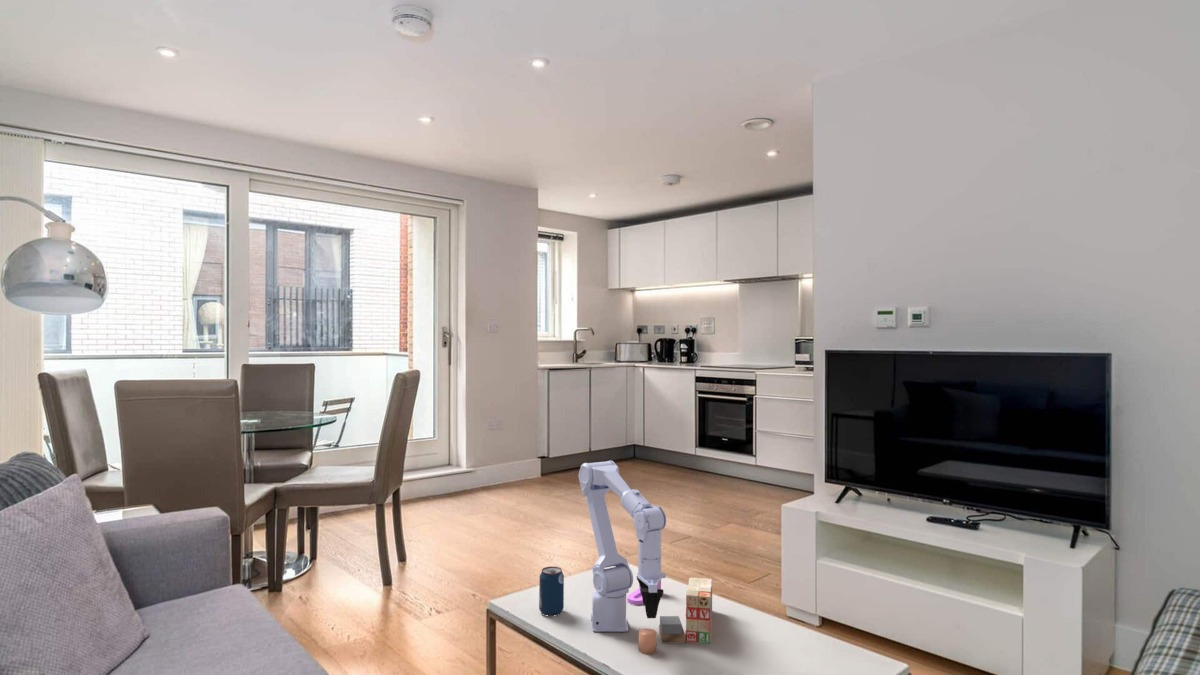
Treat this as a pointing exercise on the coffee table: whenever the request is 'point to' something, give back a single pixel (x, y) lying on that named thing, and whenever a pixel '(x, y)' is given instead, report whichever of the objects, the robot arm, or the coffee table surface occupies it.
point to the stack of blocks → (699, 610)
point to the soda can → (551, 591)
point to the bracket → (634, 596)
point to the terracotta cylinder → (647, 641)
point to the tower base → (672, 637)
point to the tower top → (670, 625)
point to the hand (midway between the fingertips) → (649, 611)
